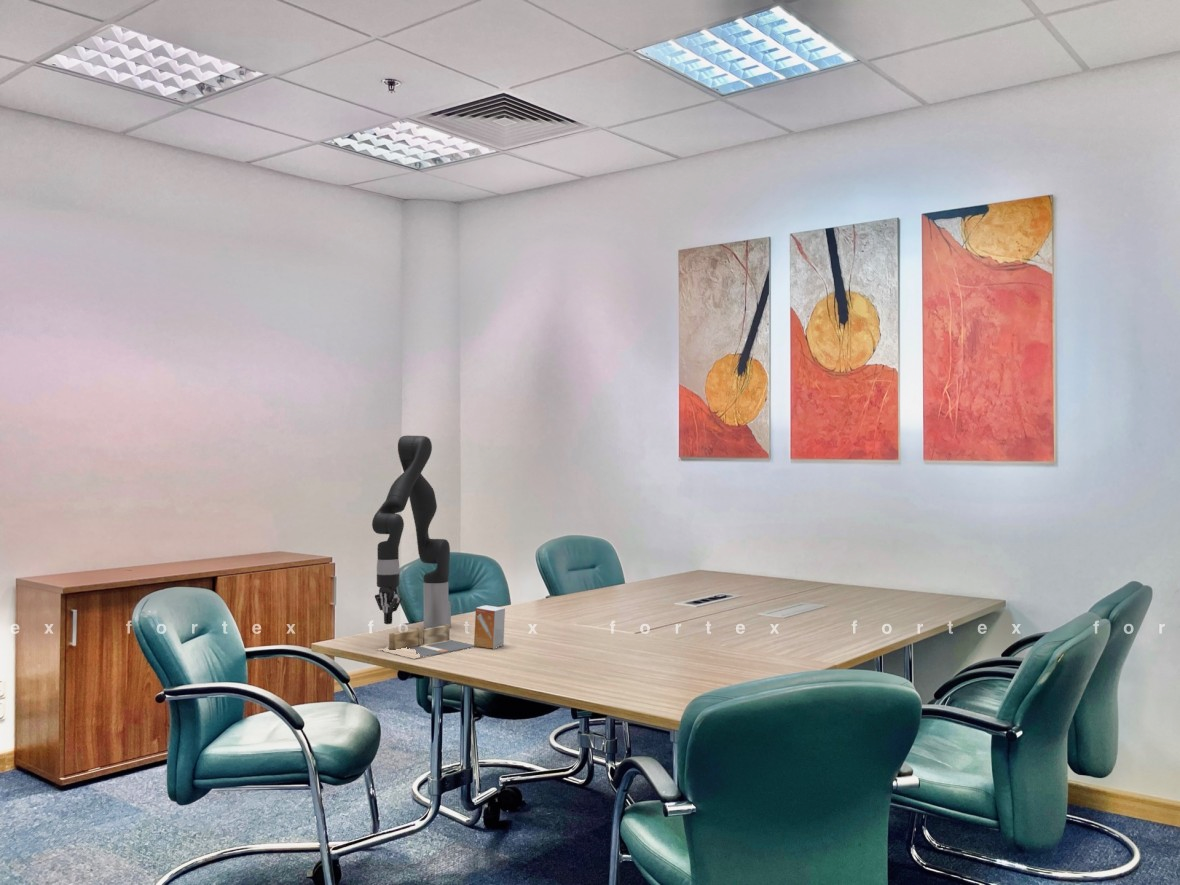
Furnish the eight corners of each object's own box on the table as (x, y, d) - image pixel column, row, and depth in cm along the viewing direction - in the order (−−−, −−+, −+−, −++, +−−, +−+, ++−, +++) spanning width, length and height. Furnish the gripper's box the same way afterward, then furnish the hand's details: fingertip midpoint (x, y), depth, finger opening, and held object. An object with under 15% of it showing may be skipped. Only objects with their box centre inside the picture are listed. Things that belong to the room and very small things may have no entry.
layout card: (439, 638, 344) (439, 636, 344) (477, 646, 329) (477, 645, 329) (376, 650, 325) (376, 648, 325) (413, 659, 311) (413, 657, 311)
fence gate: (415, 644, 330) (415, 629, 330) (418, 645, 329) (418, 630, 329) (388, 649, 322) (388, 634, 322) (391, 650, 321) (391, 634, 321)
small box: (473, 645, 329) (475, 607, 329) (484, 642, 335) (486, 604, 334) (493, 649, 325) (494, 610, 325) (504, 645, 331) (505, 607, 330)
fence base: (447, 639, 340) (447, 623, 340) (450, 640, 338) (450, 623, 338) (415, 645, 330) (415, 628, 330) (419, 646, 329) (419, 629, 329)
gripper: (408, 573, 327) (408, 624, 327) (386, 570, 337) (386, 620, 336) (389, 575, 322) (390, 627, 322) (367, 571, 331) (367, 622, 331)
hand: (388, 623), depth 329 cm, fingers closed
